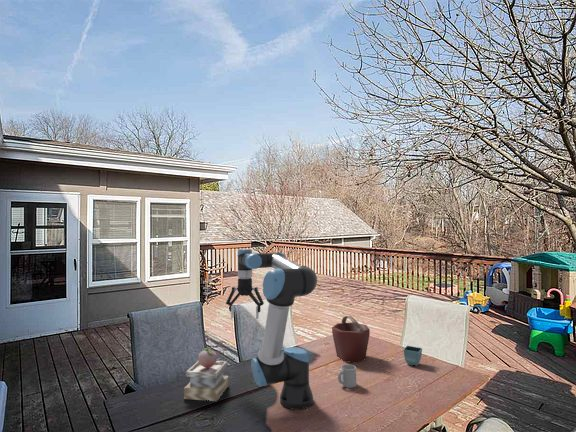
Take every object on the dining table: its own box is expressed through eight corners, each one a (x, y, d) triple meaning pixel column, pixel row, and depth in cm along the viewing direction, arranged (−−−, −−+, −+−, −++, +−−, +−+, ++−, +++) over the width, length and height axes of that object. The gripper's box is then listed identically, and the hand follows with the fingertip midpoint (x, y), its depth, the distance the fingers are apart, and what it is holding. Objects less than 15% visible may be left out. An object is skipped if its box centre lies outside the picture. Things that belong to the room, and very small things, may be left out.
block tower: (228, 386, 173) (228, 361, 174) (217, 401, 157) (217, 373, 158) (198, 384, 175) (198, 359, 176) (184, 398, 159) (184, 372, 160)
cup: (359, 386, 172) (358, 368, 172) (342, 390, 168) (341, 371, 168) (351, 381, 178) (350, 363, 179) (334, 384, 174) (334, 366, 175)
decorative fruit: (194, 368, 167) (194, 347, 168) (208, 364, 173) (208, 343, 174) (205, 374, 161) (205, 352, 161) (219, 369, 167) (219, 348, 167)
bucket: (372, 365, 200) (372, 321, 201) (334, 365, 200) (334, 321, 201) (364, 351, 224) (363, 312, 226) (330, 351, 224) (329, 312, 226)
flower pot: (422, 363, 202) (422, 347, 203) (419, 368, 195) (419, 352, 195) (407, 360, 207) (406, 345, 207) (403, 365, 199) (403, 349, 200)
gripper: (269, 277, 186) (269, 317, 184) (224, 276, 189) (224, 315, 188) (266, 279, 178) (266, 320, 177) (220, 278, 182) (219, 319, 181)
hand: (244, 318), depth 183 cm, fingers open, 13 cm apart
